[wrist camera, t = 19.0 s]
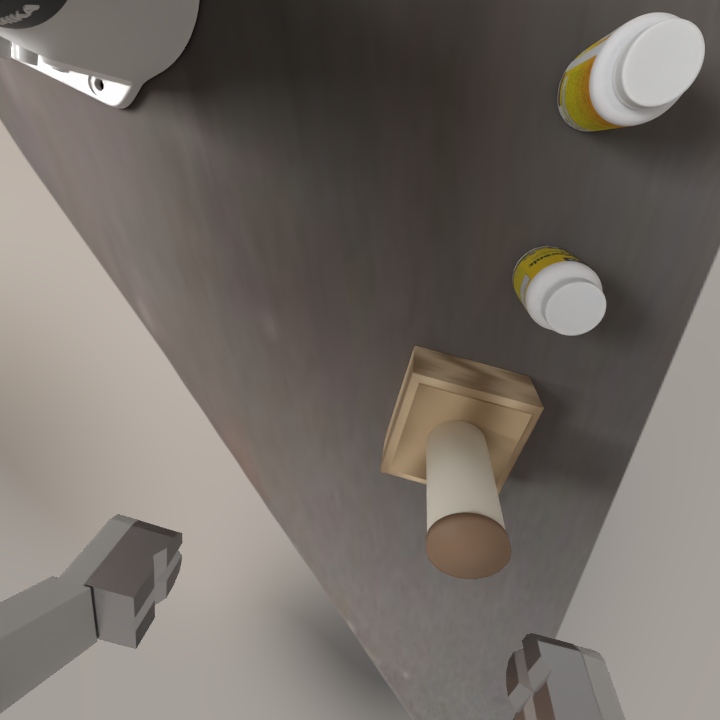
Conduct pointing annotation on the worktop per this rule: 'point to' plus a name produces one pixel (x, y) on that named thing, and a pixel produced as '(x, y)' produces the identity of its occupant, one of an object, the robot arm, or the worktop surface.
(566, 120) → the supplement bottle
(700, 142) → the worktop surface
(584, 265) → the supplement bottle
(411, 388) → the oak block
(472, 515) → the cream tin
